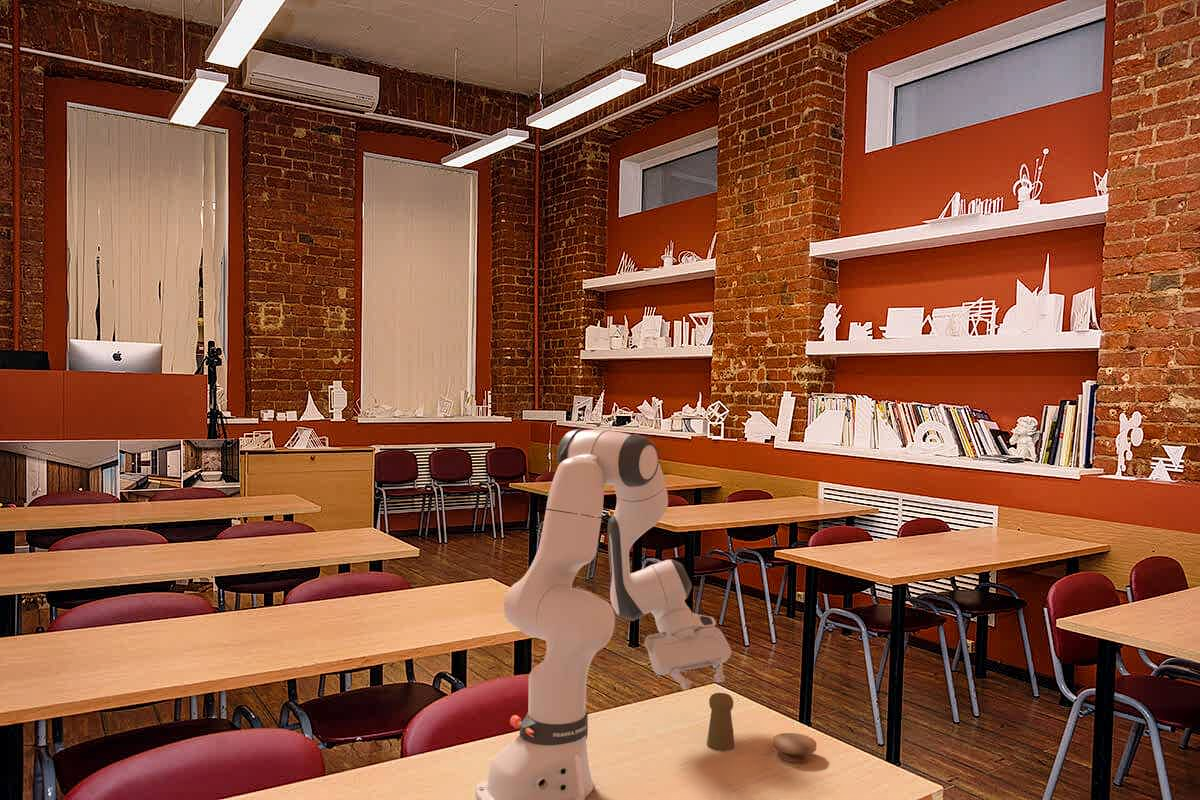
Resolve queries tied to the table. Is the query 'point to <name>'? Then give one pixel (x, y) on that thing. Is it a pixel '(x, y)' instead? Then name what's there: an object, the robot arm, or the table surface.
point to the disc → (794, 747)
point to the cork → (721, 723)
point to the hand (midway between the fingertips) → (704, 684)
